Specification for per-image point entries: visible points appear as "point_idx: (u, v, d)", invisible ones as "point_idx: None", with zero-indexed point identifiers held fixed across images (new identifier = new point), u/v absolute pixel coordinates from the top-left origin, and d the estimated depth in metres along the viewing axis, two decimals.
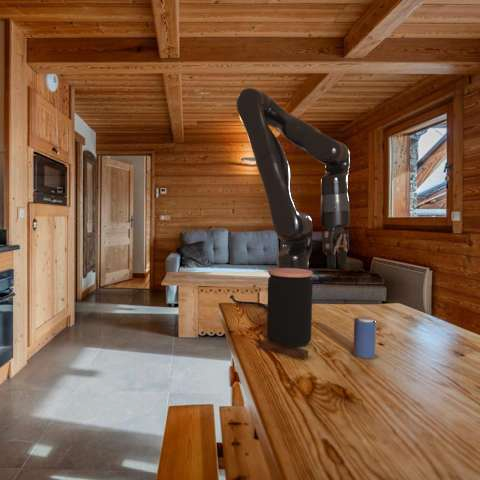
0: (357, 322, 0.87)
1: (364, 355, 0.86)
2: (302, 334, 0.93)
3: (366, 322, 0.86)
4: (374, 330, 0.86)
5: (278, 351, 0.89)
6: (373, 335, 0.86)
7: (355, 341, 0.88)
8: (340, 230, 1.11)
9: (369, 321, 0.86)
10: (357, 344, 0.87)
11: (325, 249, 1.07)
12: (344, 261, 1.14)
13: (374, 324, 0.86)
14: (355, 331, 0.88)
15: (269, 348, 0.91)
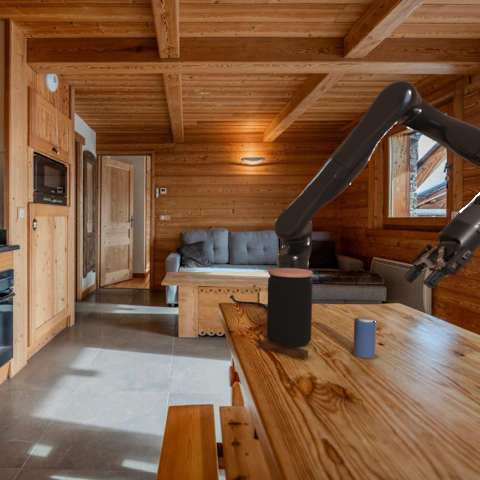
0: (357, 322, 0.87)
1: (364, 355, 0.86)
2: (302, 334, 0.93)
3: (366, 322, 0.86)
4: (374, 330, 0.86)
5: (278, 351, 0.89)
6: (373, 335, 0.86)
7: (355, 341, 0.88)
8: None
9: (369, 321, 0.86)
10: (357, 344, 0.87)
11: (451, 267, 0.80)
12: (413, 278, 0.91)
13: (374, 324, 0.86)
14: (355, 331, 0.88)
15: (269, 348, 0.91)
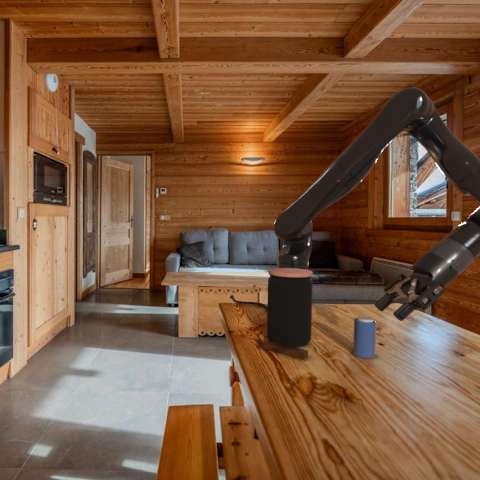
0: (357, 322, 0.87)
1: (364, 355, 0.86)
2: (302, 334, 0.93)
3: (366, 322, 0.86)
4: (374, 330, 0.86)
5: (278, 351, 0.89)
6: (373, 335, 0.86)
7: (355, 341, 0.88)
8: None
9: (369, 321, 0.86)
10: (357, 344, 0.87)
11: (422, 302, 0.80)
12: (384, 307, 0.91)
13: (374, 324, 0.86)
14: (355, 331, 0.88)
15: (269, 348, 0.91)
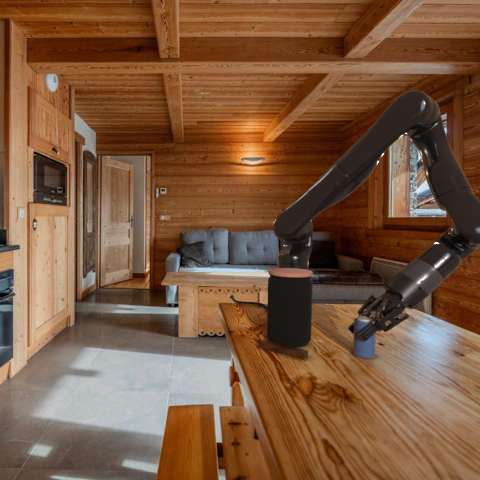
0: (357, 322, 0.87)
1: (364, 355, 0.86)
2: (302, 334, 0.93)
3: (366, 322, 0.86)
4: None
5: (278, 351, 0.89)
6: (373, 335, 0.86)
7: (355, 341, 0.88)
8: None
9: (369, 321, 0.86)
10: (357, 344, 0.87)
11: (383, 323, 0.83)
12: None
13: None
14: (355, 331, 0.88)
15: (269, 348, 0.91)
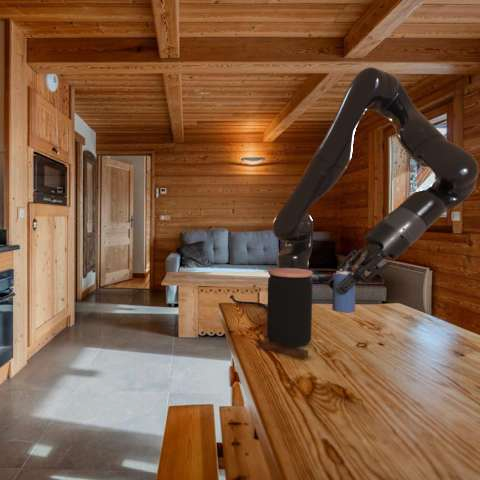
0: (336, 275, 0.82)
1: (343, 309, 0.81)
2: (302, 334, 0.93)
3: (345, 274, 0.81)
4: None
5: (278, 351, 0.89)
6: (353, 288, 0.81)
7: (334, 296, 0.83)
8: None
9: (348, 273, 0.81)
10: (336, 298, 0.82)
11: (362, 274, 0.78)
12: None
13: None
14: (334, 285, 0.83)
15: (269, 348, 0.91)
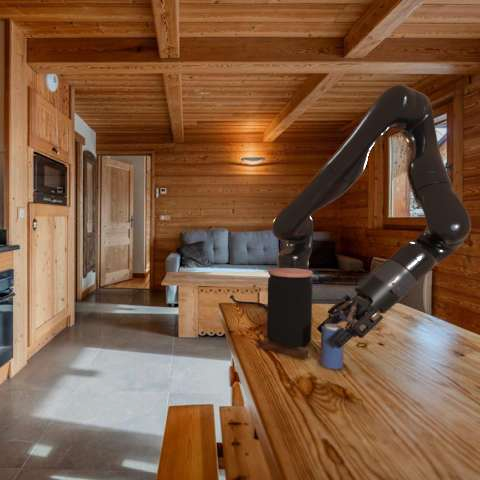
0: (324, 330, 0.81)
1: (331, 366, 0.80)
2: (302, 334, 0.93)
3: (333, 330, 0.80)
4: None
5: (278, 351, 0.89)
6: None
7: (322, 351, 0.82)
8: None
9: (336, 329, 0.80)
10: (324, 353, 0.81)
11: (358, 329, 0.75)
12: None
13: None
14: (322, 340, 0.82)
15: (269, 348, 0.91)
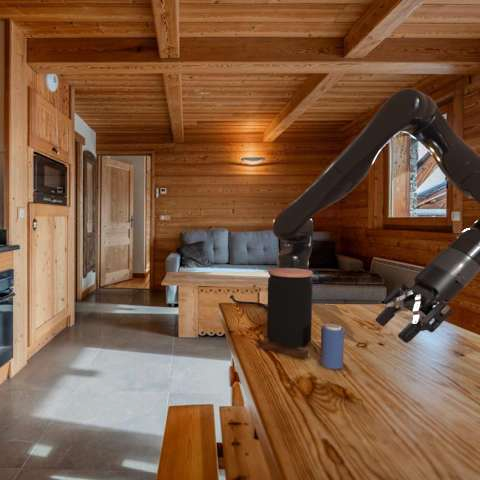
0: (324, 330, 0.81)
1: (331, 366, 0.80)
2: (302, 334, 0.93)
3: (333, 330, 0.80)
4: (342, 339, 0.80)
5: (278, 351, 0.89)
6: (341, 344, 0.80)
7: (322, 351, 0.82)
8: None
9: (336, 329, 0.80)
10: (324, 353, 0.81)
11: (428, 324, 0.74)
12: (385, 322, 0.86)
13: (342, 332, 0.80)
14: (322, 340, 0.82)
15: (269, 348, 0.91)
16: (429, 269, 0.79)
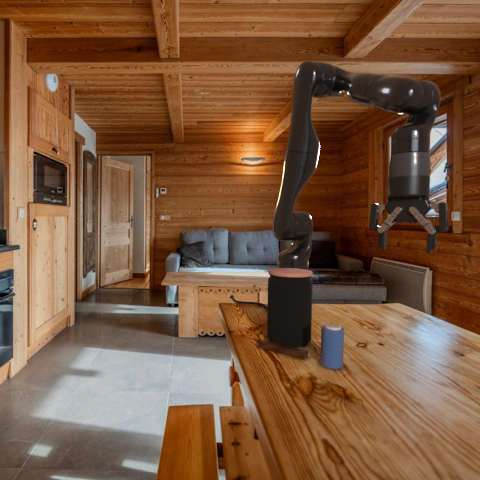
0: (324, 330, 0.81)
1: (331, 366, 0.80)
2: (302, 334, 0.93)
3: (333, 330, 0.80)
4: (342, 339, 0.80)
5: (278, 351, 0.89)
6: (341, 344, 0.80)
7: (322, 351, 0.82)
8: None
9: (336, 329, 0.80)
10: (324, 353, 0.81)
11: None
12: (386, 244, 0.87)
13: (342, 332, 0.80)
14: (322, 340, 0.82)
15: (269, 348, 0.91)
16: (406, 182, 0.80)
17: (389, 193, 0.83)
